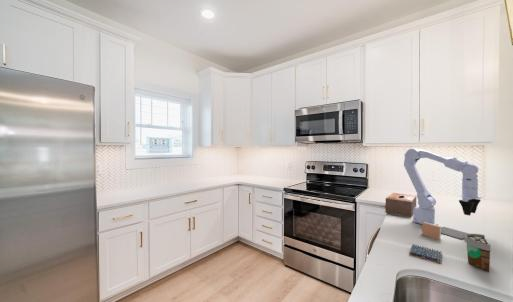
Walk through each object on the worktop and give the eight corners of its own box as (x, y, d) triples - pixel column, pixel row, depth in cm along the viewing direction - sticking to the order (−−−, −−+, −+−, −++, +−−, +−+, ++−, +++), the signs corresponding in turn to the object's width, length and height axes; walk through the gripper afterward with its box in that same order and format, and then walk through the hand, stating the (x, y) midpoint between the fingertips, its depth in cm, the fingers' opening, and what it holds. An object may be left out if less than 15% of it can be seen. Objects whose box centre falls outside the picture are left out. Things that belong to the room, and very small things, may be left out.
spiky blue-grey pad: (442, 255, 89) (442, 250, 89) (441, 265, 81) (442, 260, 81) (411, 247, 96) (411, 242, 96) (408, 256, 88) (408, 251, 88)
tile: (422, 234, 110) (422, 222, 110) (424, 233, 111) (424, 221, 111) (438, 239, 104) (438, 227, 104) (440, 238, 105) (440, 226, 105)
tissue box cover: (411, 217, 137) (411, 202, 137) (385, 213, 147) (385, 198, 147) (416, 209, 156) (416, 195, 156) (392, 205, 166) (393, 192, 166)
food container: (462, 255, 89) (462, 230, 88) (483, 260, 85) (484, 234, 85) (465, 267, 79) (466, 240, 79) (490, 274, 75) (490, 245, 75)
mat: (432, 231, 114) (432, 230, 114) (443, 227, 120) (443, 226, 120) (461, 239, 104) (461, 238, 104) (472, 235, 109) (472, 234, 109)
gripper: (476, 189, 104) (475, 218, 104) (485, 187, 112) (485, 213, 112) (456, 187, 110) (456, 214, 110) (466, 185, 118) (466, 210, 118)
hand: (469, 213), depth 111 cm, fingers open, 7 cm apart
